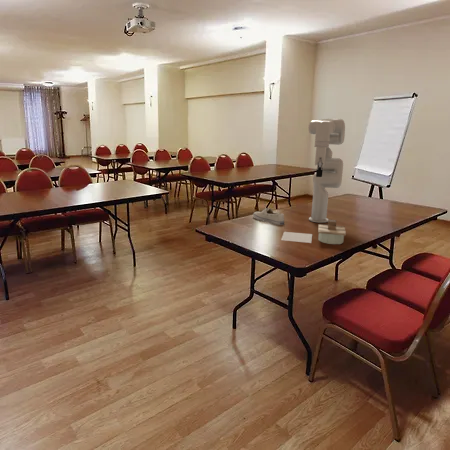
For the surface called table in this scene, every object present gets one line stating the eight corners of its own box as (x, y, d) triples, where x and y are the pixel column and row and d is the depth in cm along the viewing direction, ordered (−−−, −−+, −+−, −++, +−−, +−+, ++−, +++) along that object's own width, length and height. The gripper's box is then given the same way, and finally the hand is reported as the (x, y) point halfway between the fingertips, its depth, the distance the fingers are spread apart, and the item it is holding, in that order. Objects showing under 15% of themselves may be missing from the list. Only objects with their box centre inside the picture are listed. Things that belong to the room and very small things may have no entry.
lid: (318, 225, 207) (319, 216, 206) (344, 228, 204) (345, 218, 203) (317, 233, 194) (318, 223, 193) (345, 235, 191) (346, 225, 190)
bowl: (318, 236, 208) (319, 226, 207) (342, 238, 205) (343, 228, 204) (318, 243, 196) (318, 232, 195) (343, 246, 193) (344, 235, 192)
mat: (283, 232, 215) (284, 231, 214) (312, 235, 211) (312, 234, 211) (280, 241, 200) (281, 240, 199) (311, 243, 196) (311, 242, 196)
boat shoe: (250, 217, 247) (250, 205, 244) (260, 215, 252) (260, 203, 249) (277, 226, 228) (277, 212, 225) (287, 224, 233) (287, 210, 231)
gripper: (315, 143, 211) (312, 173, 216) (314, 145, 195) (311, 177, 200) (328, 143, 209) (325, 173, 214) (329, 145, 193) (326, 178, 198)
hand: (319, 175), depth 207 cm, fingers open, 9 cm apart
